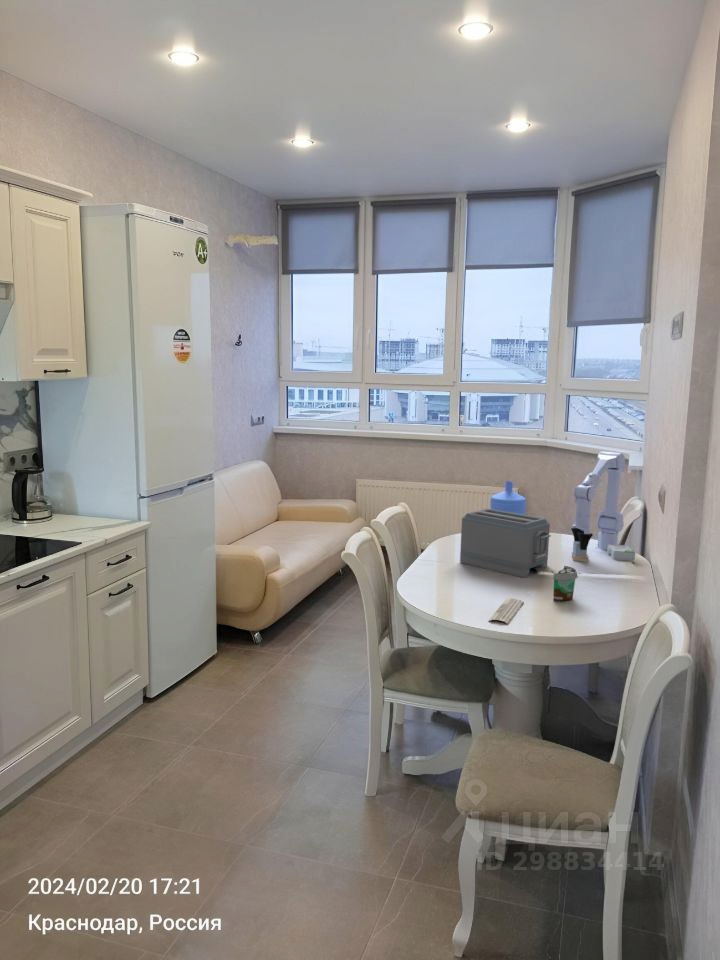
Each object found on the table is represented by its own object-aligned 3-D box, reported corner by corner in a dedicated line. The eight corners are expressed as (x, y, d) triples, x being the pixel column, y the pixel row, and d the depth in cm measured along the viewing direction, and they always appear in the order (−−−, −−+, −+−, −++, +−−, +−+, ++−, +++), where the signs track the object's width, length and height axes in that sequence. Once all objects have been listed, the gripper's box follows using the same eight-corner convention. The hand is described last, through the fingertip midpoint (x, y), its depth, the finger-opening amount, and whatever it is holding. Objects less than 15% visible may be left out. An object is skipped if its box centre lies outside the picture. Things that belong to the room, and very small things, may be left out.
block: (572, 553, 299) (573, 541, 298) (583, 553, 299) (584, 541, 298) (575, 555, 294) (576, 543, 294) (586, 556, 294) (587, 544, 293)
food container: (570, 605, 242) (572, 576, 240) (552, 601, 245) (553, 573, 243) (580, 596, 252) (582, 568, 251) (562, 592, 255) (564, 565, 254)
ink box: (614, 550, 297) (607, 543, 309) (612, 562, 298) (606, 554, 309) (635, 551, 296) (628, 544, 308) (634, 564, 297) (627, 556, 309)
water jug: (527, 547, 320) (530, 484, 316) (491, 546, 320) (494, 484, 316) (519, 539, 335) (523, 479, 331) (485, 538, 335) (488, 478, 331)
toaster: (532, 580, 270) (535, 526, 267) (458, 563, 292) (460, 513, 289) (556, 571, 283) (560, 519, 280) (484, 555, 306) (486, 507, 303)
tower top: (571, 557, 300) (572, 552, 300) (586, 558, 299) (587, 553, 299) (572, 560, 294) (573, 555, 294) (588, 561, 293) (588, 556, 293)
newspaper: (507, 627, 222) (507, 621, 222) (484, 623, 225) (485, 617, 225) (523, 605, 243) (523, 599, 243) (502, 601, 246) (502, 596, 246)
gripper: (567, 511, 301) (565, 543, 303) (578, 518, 287) (575, 551, 289) (584, 511, 301) (582, 543, 303) (596, 518, 287) (593, 552, 289)
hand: (580, 547), depth 296 cm, fingers open, 7 cm apart
